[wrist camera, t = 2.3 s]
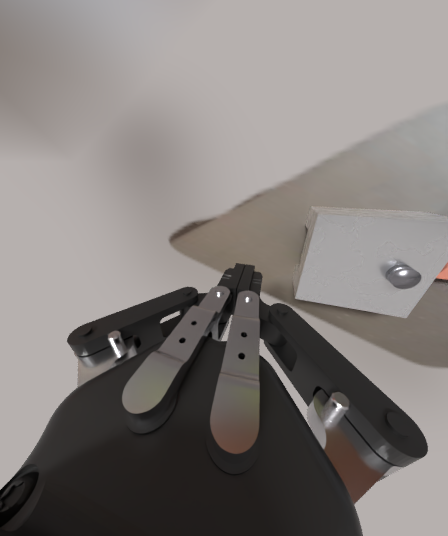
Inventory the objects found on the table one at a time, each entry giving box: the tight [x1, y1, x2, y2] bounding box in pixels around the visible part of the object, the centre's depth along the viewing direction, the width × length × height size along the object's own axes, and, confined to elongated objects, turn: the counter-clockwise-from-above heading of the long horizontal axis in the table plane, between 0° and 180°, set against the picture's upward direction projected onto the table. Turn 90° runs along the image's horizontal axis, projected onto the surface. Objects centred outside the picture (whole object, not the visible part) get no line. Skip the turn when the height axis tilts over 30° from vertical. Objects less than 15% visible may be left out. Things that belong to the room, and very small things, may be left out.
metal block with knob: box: [292, 206, 448, 318], centre depth 16 cm, size 10×9×6 cm
